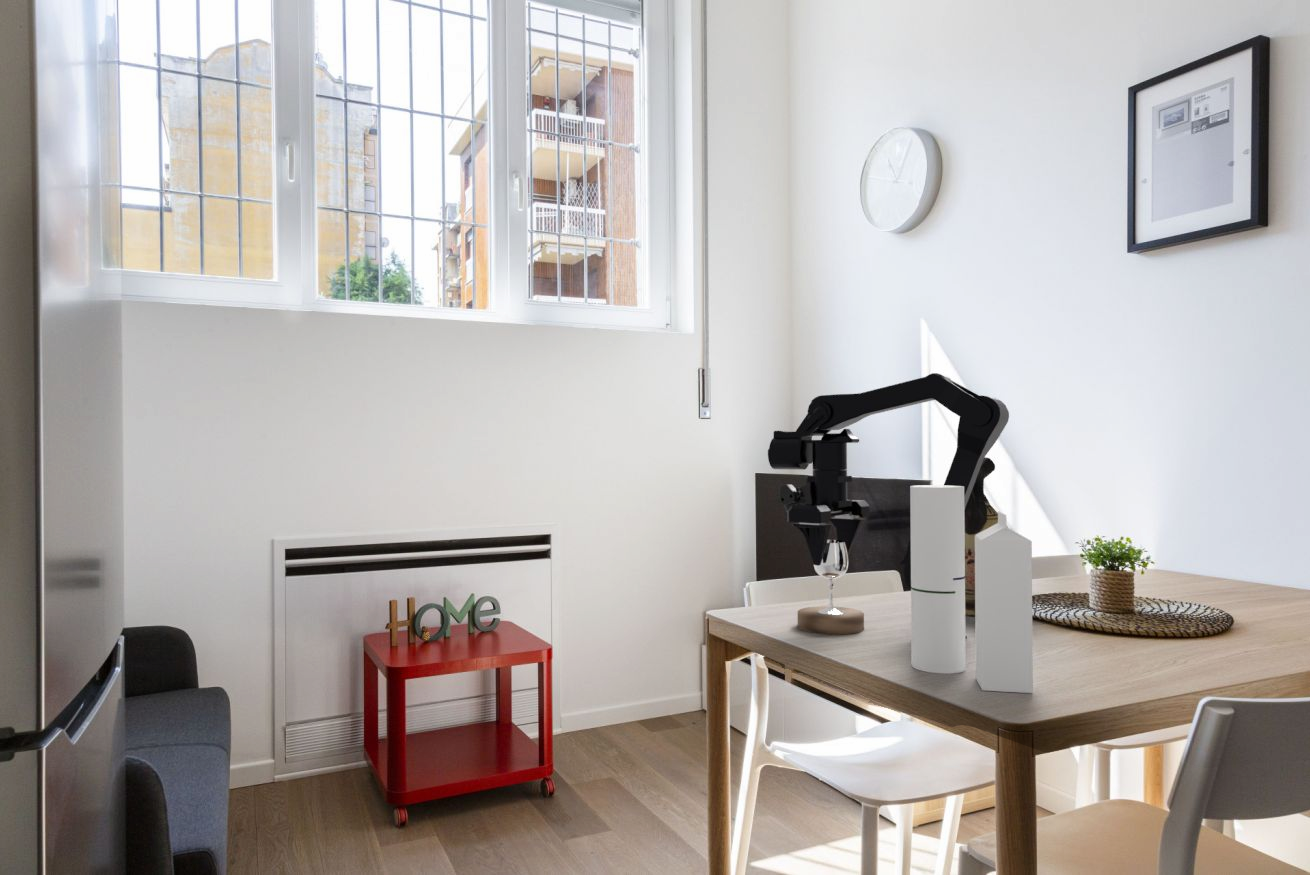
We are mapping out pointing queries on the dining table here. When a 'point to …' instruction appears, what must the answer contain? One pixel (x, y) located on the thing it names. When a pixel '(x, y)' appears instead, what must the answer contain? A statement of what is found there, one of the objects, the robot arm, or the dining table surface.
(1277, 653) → the dining table surface
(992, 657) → the milk
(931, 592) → the cylindrical container
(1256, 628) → the dining table surface
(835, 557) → the wineglass
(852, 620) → the walnut riser
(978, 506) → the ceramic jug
